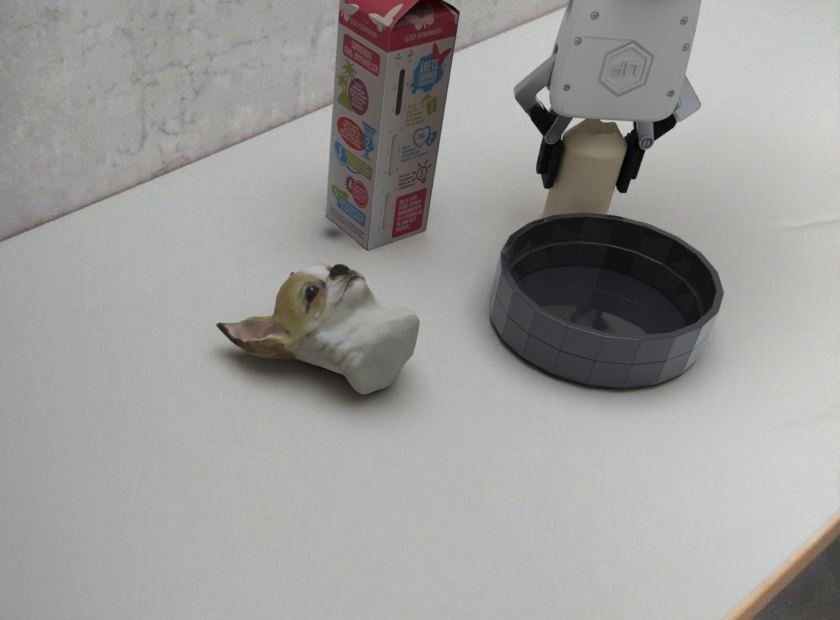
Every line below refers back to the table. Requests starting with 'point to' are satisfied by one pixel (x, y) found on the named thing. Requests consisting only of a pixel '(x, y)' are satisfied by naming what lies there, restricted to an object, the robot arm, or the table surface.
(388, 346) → the ceramic sculpture
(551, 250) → the pan
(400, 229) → the juice carton
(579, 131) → the candle
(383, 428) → the table surface
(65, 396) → the table surface
